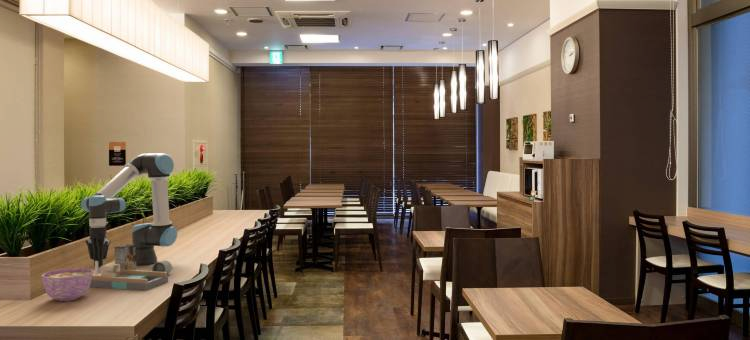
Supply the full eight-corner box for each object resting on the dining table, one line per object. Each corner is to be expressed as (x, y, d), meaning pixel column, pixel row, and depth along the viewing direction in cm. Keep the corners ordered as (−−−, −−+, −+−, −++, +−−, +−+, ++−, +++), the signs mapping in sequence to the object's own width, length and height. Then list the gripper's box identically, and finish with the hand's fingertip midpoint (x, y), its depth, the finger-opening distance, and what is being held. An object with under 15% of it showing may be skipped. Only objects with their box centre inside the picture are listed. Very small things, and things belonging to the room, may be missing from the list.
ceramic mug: (173, 273, 283) (172, 259, 283) (165, 276, 275) (165, 262, 275) (154, 273, 284) (153, 259, 284) (146, 276, 276) (145, 262, 276)
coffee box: (126, 273, 282) (126, 243, 282) (136, 274, 281) (136, 244, 281) (114, 277, 273) (114, 246, 273) (125, 278, 272) (125, 247, 272)
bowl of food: (60, 292, 244) (60, 267, 243) (102, 293, 243) (102, 268, 243) (30, 304, 224) (30, 277, 223) (77, 305, 223) (76, 278, 223)
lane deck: (113, 278, 272) (112, 268, 272) (168, 281, 265) (167, 271, 265) (86, 286, 255) (86, 276, 254) (145, 290, 248) (144, 280, 247)
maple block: (109, 275, 265) (109, 263, 265) (120, 275, 264) (119, 264, 264) (101, 277, 260) (101, 265, 259) (111, 278, 258) (111, 266, 258)
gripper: (81, 227, 260) (81, 274, 261) (103, 227, 258) (104, 275, 258) (92, 225, 268) (92, 271, 268) (114, 225, 265) (114, 272, 266)
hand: (98, 273), depth 263 cm, fingers closed
